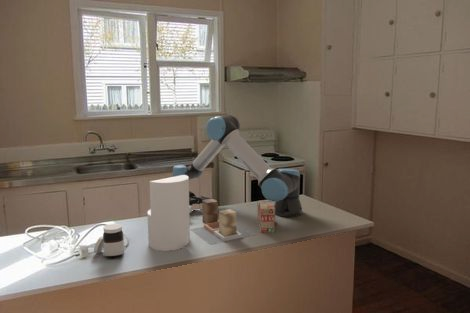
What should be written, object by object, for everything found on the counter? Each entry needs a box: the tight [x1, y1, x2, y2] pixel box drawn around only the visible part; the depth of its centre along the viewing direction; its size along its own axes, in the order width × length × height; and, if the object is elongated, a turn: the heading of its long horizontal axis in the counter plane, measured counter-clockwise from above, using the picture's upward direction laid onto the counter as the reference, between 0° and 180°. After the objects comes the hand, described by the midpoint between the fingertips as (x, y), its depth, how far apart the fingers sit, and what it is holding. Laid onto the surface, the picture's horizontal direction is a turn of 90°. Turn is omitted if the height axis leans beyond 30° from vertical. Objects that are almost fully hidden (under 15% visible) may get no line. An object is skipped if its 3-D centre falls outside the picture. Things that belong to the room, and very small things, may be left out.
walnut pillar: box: [201, 198, 219, 224], centre depth 192 cm, size 6×6×11 cm
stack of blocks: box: [257, 199, 276, 233], centre depth 187 cm, size 21×6×12 cm, turn 1°
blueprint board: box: [190, 221, 256, 245], centre depth 178 cm, size 22×20×2 cm
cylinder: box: [146, 175, 191, 252], centre depth 166 cm, size 17×17×28 cm
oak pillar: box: [218, 208, 237, 237], centre depth 173 cm, size 6×6×11 cm
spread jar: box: [93, 223, 125, 260], centre depth 155 cm, size 12×11×12 cm
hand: (203, 207), depth 198 cm, fingers open, 13 cm apart
